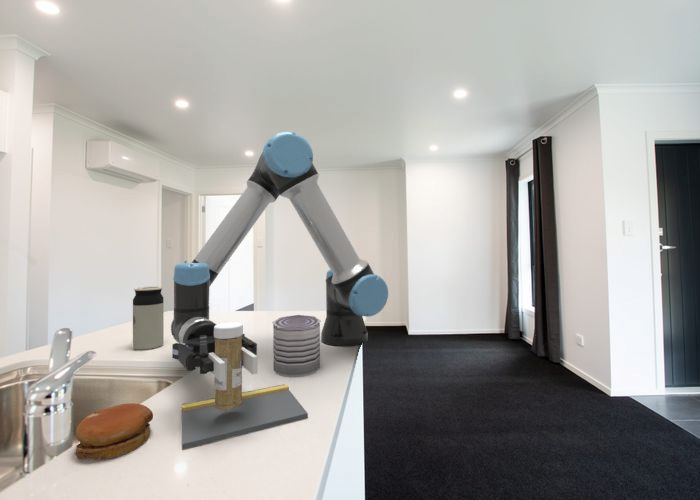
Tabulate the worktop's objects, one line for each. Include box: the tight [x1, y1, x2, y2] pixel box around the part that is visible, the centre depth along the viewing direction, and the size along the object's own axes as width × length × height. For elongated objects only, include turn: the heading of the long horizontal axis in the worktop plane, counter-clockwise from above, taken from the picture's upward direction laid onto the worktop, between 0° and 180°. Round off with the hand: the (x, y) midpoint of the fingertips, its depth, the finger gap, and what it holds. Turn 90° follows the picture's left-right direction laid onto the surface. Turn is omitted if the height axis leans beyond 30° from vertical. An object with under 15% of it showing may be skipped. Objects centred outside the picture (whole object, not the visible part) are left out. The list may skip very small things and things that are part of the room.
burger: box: [74, 402, 154, 460], centre depth 49 cm, size 10×9×5 cm
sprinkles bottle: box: [213, 321, 244, 410], centre depth 54 cm, size 5×5×14 cm
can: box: [271, 314, 322, 378], centre depth 79 cm, size 11×11×12 cm
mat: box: [181, 383, 309, 450], centre depth 57 cm, size 19×14×1 cm
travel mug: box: [132, 286, 165, 351], centre depth 99 cm, size 8×8×18 cm
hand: (239, 368), depth 50 cm, fingers closed on sprinkles bottle, 4 cm apart
